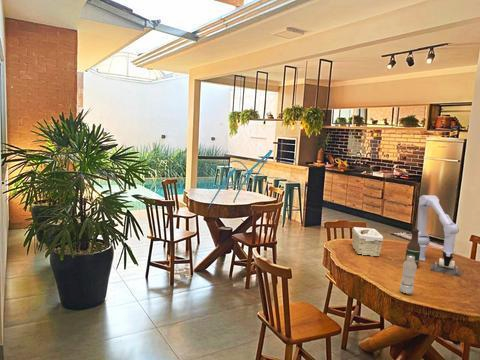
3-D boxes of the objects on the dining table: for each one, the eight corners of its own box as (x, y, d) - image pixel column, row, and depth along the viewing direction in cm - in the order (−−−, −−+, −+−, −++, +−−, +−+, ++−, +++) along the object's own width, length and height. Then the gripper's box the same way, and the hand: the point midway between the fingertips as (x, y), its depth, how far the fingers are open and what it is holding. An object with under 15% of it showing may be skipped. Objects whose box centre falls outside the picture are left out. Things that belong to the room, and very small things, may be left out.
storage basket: (350, 245, 268) (352, 226, 267) (373, 247, 267) (375, 228, 265) (356, 255, 245) (359, 234, 243) (381, 258, 243) (384, 237, 241)
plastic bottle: (396, 290, 190) (401, 253, 188) (409, 290, 191) (413, 253, 189) (403, 295, 184) (407, 257, 182) (415, 296, 185) (420, 258, 182)
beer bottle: (417, 265, 233) (422, 229, 230) (418, 269, 226) (423, 231, 223) (404, 263, 236) (409, 227, 233) (404, 266, 229) (409, 229, 226)
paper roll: (438, 267, 226) (439, 259, 225) (438, 264, 230) (439, 257, 229) (454, 270, 221) (455, 262, 221) (453, 267, 226) (455, 260, 225)
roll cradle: (430, 270, 225) (431, 264, 225) (431, 265, 234) (431, 259, 234) (460, 276, 218) (461, 270, 217) (460, 271, 227) (460, 265, 226)
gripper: (457, 247, 216) (454, 269, 217) (456, 242, 228) (453, 263, 230) (443, 245, 219) (440, 267, 221) (443, 240, 232) (440, 260, 233)
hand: (446, 264), depth 225 cm, fingers closed on paper roll, 5 cm apart
